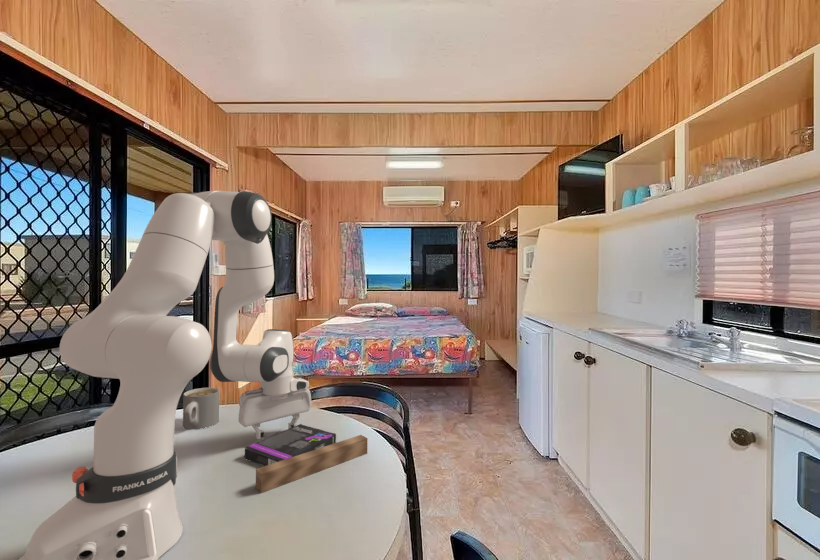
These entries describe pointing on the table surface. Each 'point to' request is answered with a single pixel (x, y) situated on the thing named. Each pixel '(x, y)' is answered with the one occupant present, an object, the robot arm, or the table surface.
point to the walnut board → (309, 463)
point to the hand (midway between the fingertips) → (276, 433)
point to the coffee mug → (200, 408)
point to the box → (288, 444)
